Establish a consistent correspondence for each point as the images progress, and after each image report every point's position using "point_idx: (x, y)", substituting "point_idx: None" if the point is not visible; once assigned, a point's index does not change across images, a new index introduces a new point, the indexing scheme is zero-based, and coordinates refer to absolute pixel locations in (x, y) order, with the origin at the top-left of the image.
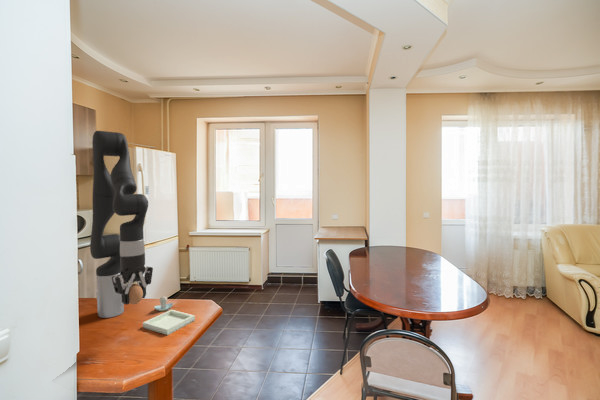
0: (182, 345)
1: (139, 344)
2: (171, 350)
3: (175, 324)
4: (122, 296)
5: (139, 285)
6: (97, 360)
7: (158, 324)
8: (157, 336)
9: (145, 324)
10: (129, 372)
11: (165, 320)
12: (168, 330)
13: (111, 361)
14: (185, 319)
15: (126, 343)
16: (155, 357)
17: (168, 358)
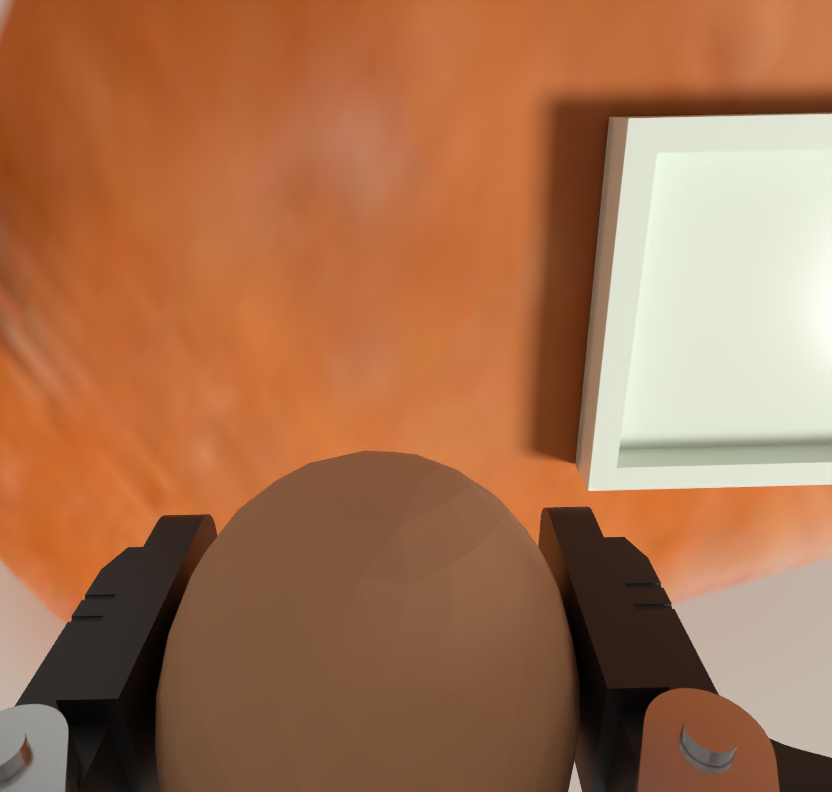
0: None
1: (363, 393)
2: None
3: (702, 471)
4: (50, 691)
5: (642, 746)
6: (31, 323)
7: (701, 246)
8: (527, 409)
9: (619, 167)
10: None
11: (807, 231)
12: (598, 484)
13: (101, 430)
14: (823, 470)
15: (313, 278)
16: None
17: None
